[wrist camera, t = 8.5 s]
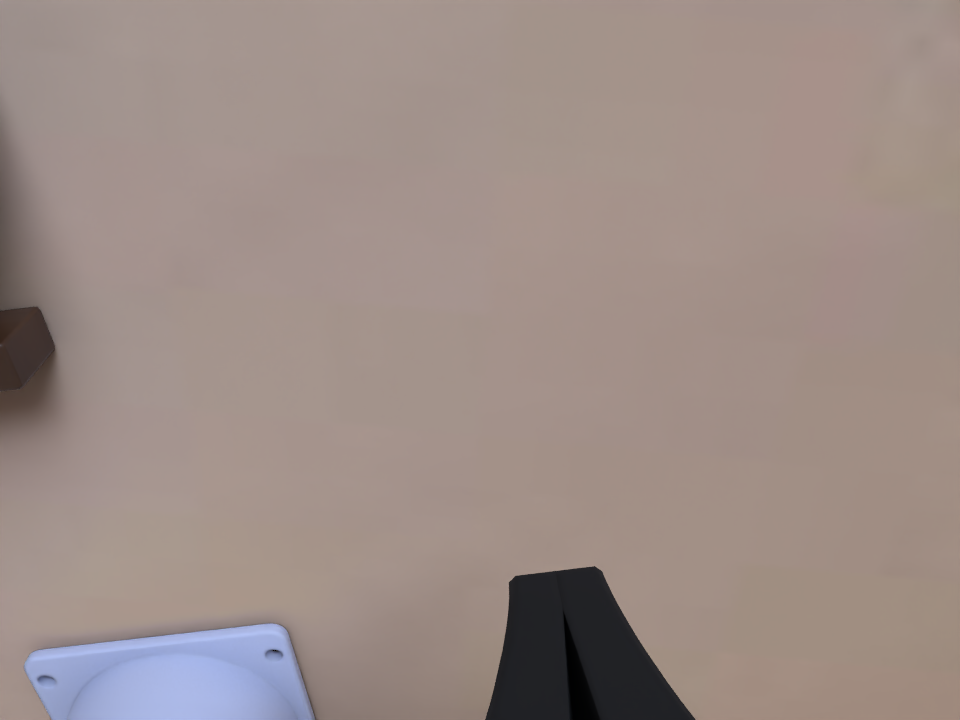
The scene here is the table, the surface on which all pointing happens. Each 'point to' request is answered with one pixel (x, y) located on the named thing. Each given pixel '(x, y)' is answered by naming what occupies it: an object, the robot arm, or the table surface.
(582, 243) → the table surface
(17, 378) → the frame
